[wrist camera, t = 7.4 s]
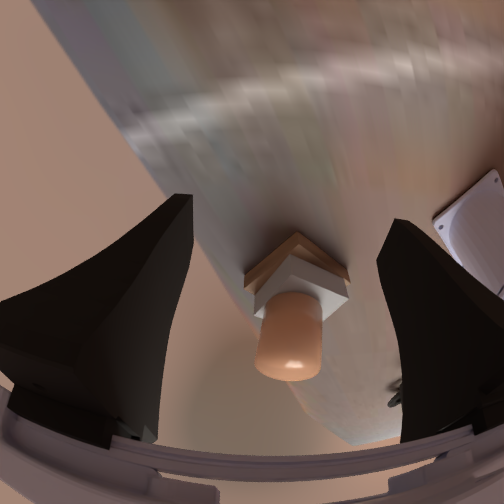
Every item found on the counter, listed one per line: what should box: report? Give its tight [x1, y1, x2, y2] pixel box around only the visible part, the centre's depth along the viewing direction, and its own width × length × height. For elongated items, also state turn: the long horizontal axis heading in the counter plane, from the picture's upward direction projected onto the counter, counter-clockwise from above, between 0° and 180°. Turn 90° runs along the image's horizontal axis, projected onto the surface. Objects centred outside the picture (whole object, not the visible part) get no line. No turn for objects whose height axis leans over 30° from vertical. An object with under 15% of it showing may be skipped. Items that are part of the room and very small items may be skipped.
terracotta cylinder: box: [255, 292, 323, 381], centre depth 21 cm, size 5×5×5 cm
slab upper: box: [254, 254, 349, 322], centre depth 24 cm, size 6×6×2 cm
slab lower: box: [244, 231, 351, 295], centre depth 26 cm, size 6×6×2 cm
